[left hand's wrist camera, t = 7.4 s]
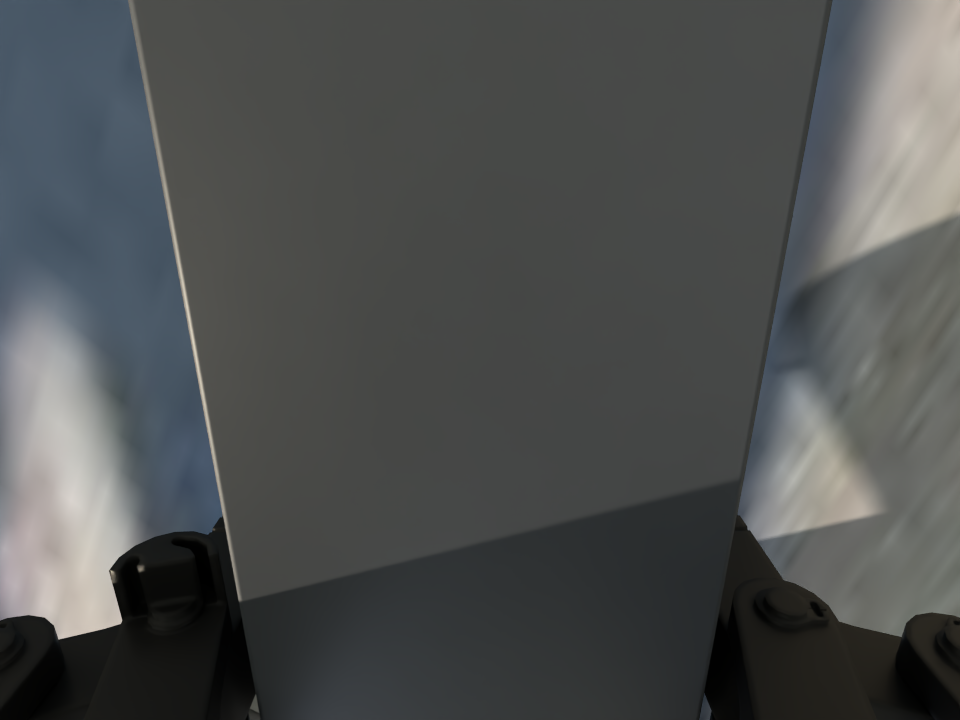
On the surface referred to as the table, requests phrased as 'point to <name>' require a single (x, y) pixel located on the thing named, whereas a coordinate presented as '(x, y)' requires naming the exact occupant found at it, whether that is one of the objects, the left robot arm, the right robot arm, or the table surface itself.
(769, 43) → the post
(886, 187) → the table surface
